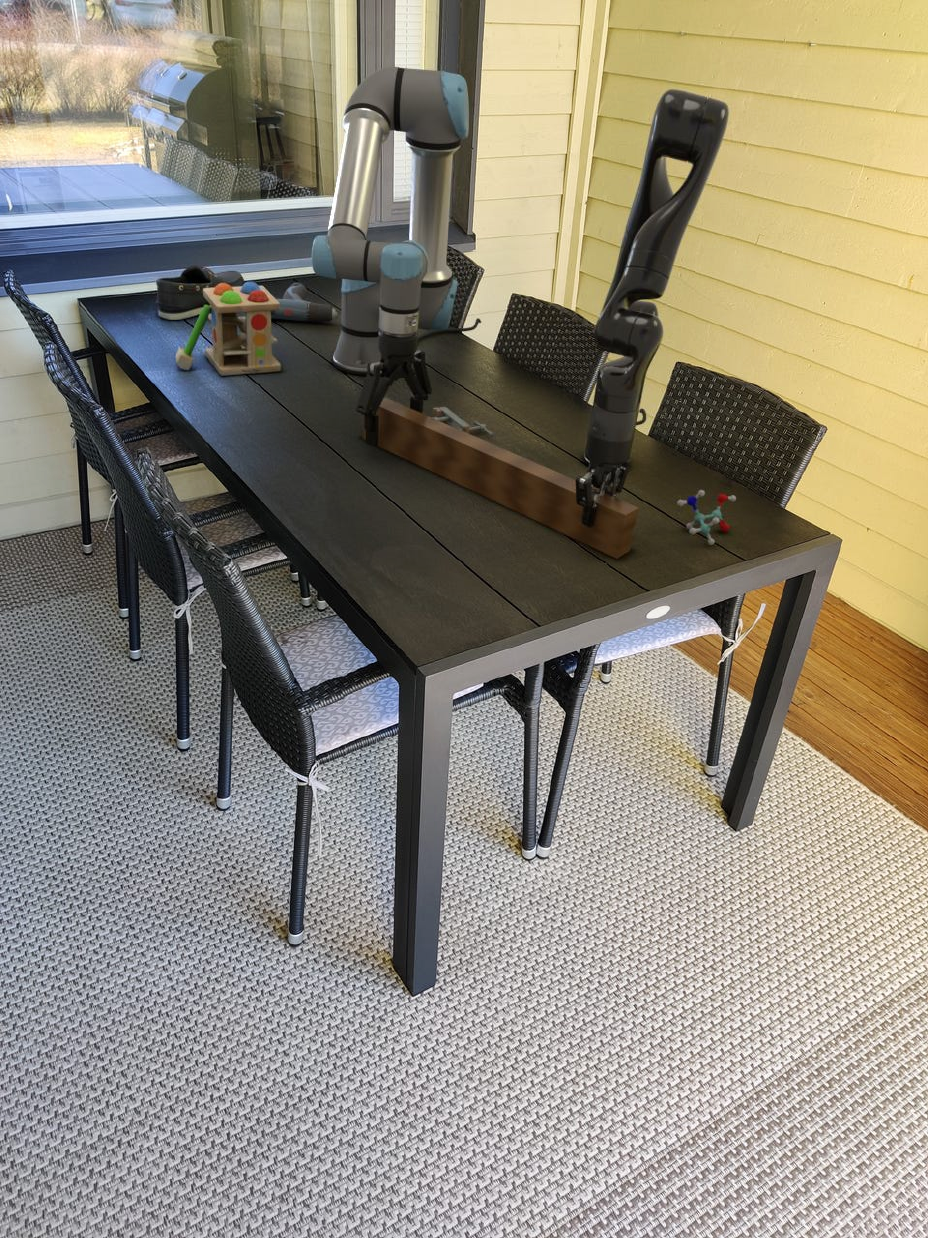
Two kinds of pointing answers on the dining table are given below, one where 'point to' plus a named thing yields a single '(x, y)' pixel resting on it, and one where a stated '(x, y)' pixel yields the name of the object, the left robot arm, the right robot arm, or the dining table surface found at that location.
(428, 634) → the dining table surface
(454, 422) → the clamp
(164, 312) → the boat shoe
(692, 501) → the molecular model
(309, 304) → the power drill
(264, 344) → the pounding bench toy
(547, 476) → the bar
